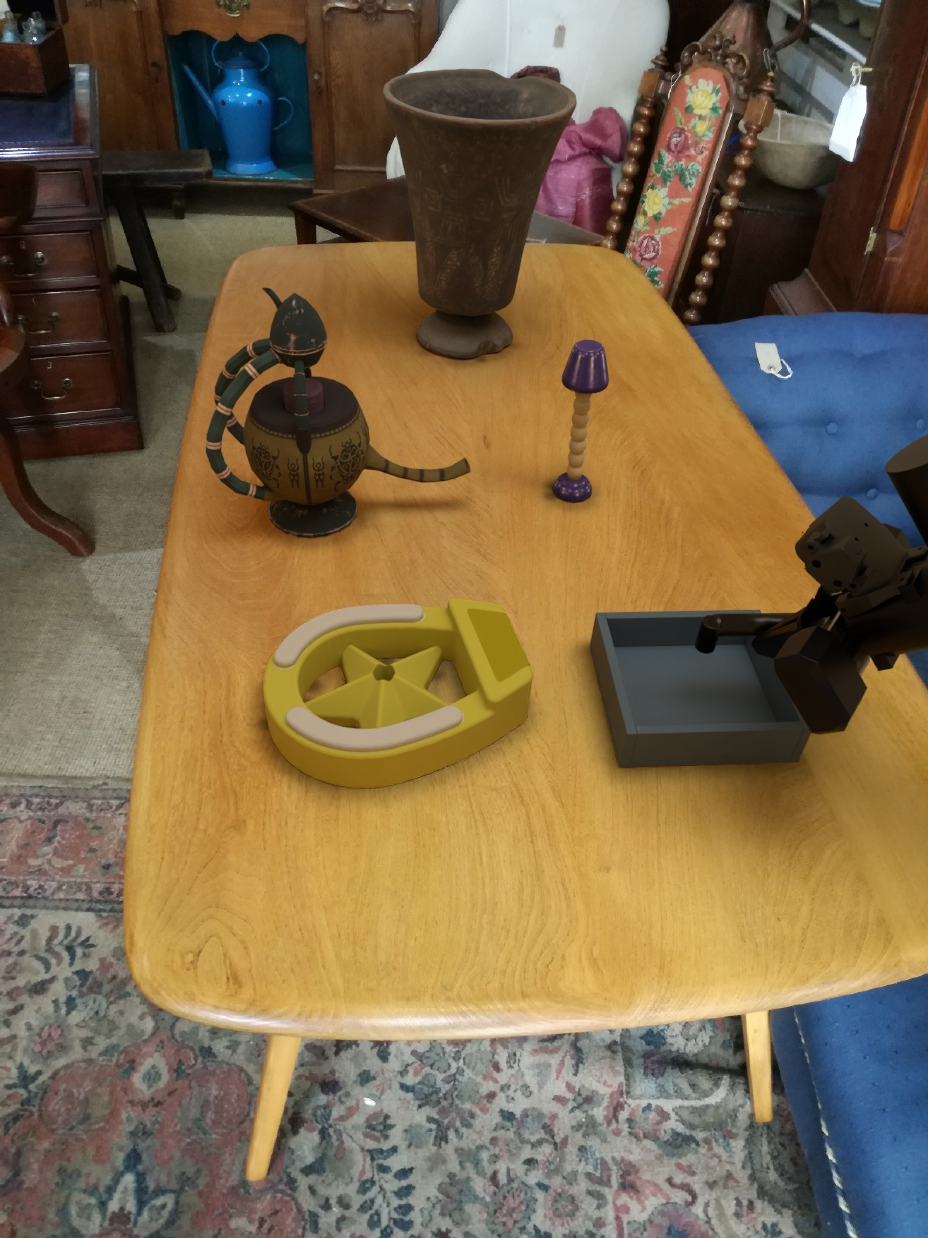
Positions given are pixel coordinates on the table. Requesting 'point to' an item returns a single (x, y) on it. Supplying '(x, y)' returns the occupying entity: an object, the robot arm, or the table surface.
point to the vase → (473, 191)
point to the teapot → (300, 430)
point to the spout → (734, 627)
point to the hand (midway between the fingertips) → (755, 645)
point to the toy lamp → (581, 413)
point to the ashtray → (395, 690)
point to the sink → (690, 694)
